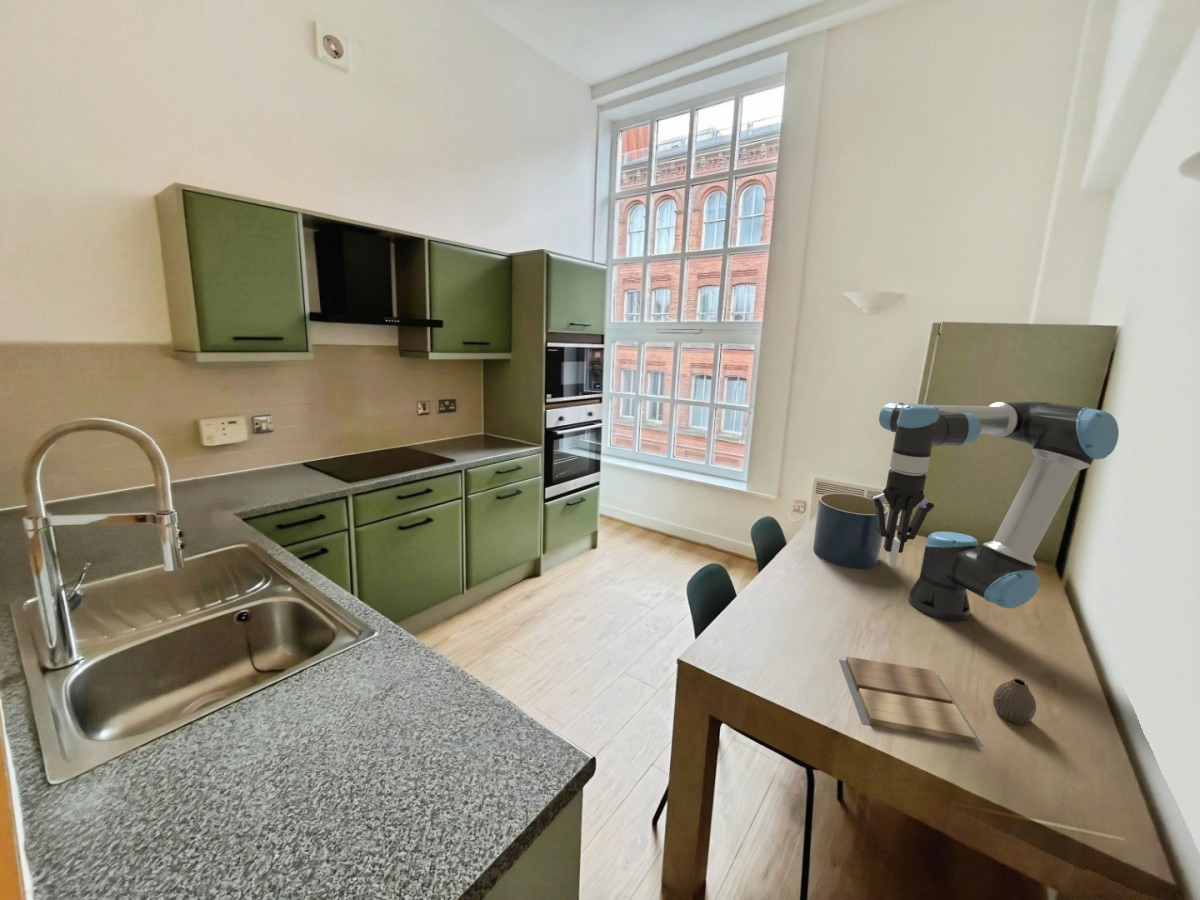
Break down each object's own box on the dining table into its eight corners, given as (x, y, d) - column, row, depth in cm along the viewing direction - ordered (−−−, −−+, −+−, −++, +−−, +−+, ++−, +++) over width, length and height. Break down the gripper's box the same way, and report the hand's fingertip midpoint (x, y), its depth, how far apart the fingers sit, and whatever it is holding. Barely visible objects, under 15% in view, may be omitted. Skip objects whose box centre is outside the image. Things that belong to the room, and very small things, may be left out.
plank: (953, 710, 106) (955, 704, 105) (974, 743, 97) (975, 737, 97) (857, 693, 110) (858, 688, 109) (869, 724, 101) (870, 718, 101)
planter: (805, 540, 191) (811, 491, 186) (865, 545, 188) (873, 495, 184) (821, 566, 170) (830, 512, 165) (889, 572, 167) (900, 517, 162)
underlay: (938, 677, 116) (938, 675, 116) (983, 748, 97) (983, 746, 96) (838, 660, 121) (838, 659, 121) (861, 725, 101) (862, 724, 101)
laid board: (932, 675, 116) (933, 670, 116) (951, 706, 107) (952, 700, 106) (845, 661, 120) (846, 656, 120) (856, 690, 111) (857, 684, 110)
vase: (981, 705, 108) (990, 671, 106) (1010, 704, 108) (1020, 670, 106) (1009, 730, 101) (1019, 694, 99) (1040, 729, 102) (1051, 693, 100)
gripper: (932, 469, 116) (914, 560, 122) (872, 464, 119) (857, 553, 125) (946, 478, 109) (926, 574, 115) (882, 472, 112) (865, 567, 118)
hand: (890, 563), depth 120 cm, fingers closed
